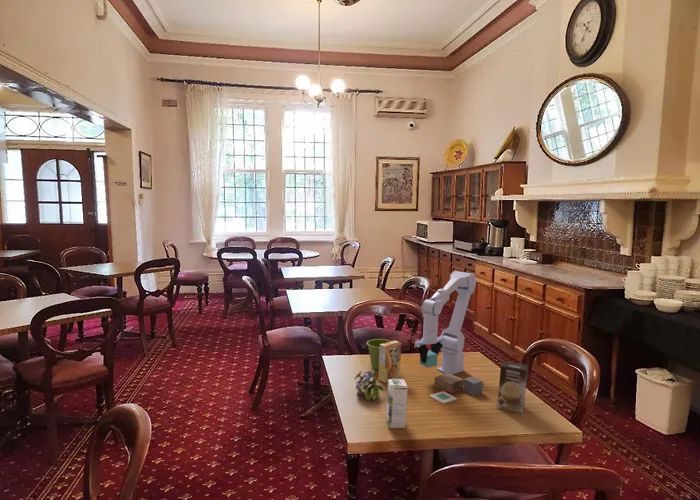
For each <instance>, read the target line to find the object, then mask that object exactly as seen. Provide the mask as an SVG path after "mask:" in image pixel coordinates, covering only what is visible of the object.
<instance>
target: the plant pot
mask: <svg viewBox="0 0 700 500" xmlns="http://www.w3.org/2000/svg"><path fill="white" fill-rule="evenodd" d="M391 341H392V340H389V339H385V338H374V339H370V340H367V342H366V345H367V347H368V352H369V358H370V366H371V368H372V370H376V371H379V352H380V344H383V343H387V342H391Z"/></svg>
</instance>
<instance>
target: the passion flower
mask: <svg viewBox="0 0 700 500" xmlns="http://www.w3.org/2000/svg"><path fill="white" fill-rule="evenodd" d="M375 372H376V369H372V371H371V370H369V371H366V372H363V370H361V371H359V373H357V374H356V375H355V377H354V380H357V379H358V380H357V381H356V385H355V390H357V391H356V395H359V394H360V393H361V392H362V391H364V393H365V399H366V402H368V403H370V402H371V401H370V400H371V398H372V401H375V400H377V399H378V398H379V396H380V393H381V392H383V393H384V392H385V389H386V388H385V387H386V385H377V379H376V373H375ZM362 373H363V374H362ZM380 391H381V392H380Z"/></svg>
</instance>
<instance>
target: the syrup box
mask: <svg viewBox="0 0 700 500" xmlns="http://www.w3.org/2000/svg"><path fill="white" fill-rule="evenodd" d="M408 387H409V386H408V384H407V382H406V380H405V379H403V378H398V379H388V382H387V392H386V393H387V395H386V407H385V410H386V414H385V421H386V425H387V428H388V429H405V428H406V420H407V405H408V404H407V402H408Z"/></svg>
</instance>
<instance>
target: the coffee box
mask: <svg viewBox="0 0 700 500" xmlns="http://www.w3.org/2000/svg"><path fill="white" fill-rule="evenodd" d="M528 366H529V365H528V364H523V363H518V362H513V361H507V360H503V359H502V361H501V364H500V373H499V382H498V392H497V393H498V395H497V404H496V408H498V409H501V410H505V411H510V412H515V413H517V414H518V413H519V414H524V410H525V402H526V401H525V400H526V391H527V390H526V389H527V378H528V370H529V368H528Z"/></svg>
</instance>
